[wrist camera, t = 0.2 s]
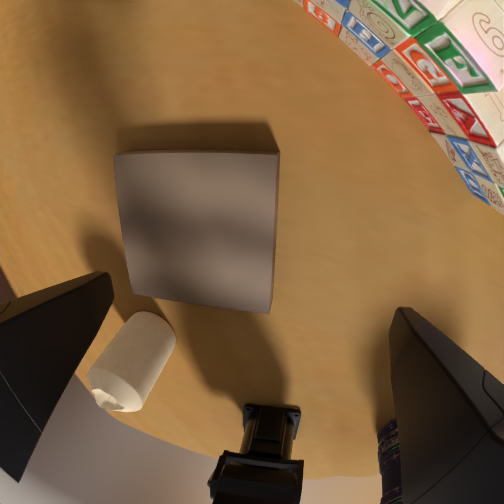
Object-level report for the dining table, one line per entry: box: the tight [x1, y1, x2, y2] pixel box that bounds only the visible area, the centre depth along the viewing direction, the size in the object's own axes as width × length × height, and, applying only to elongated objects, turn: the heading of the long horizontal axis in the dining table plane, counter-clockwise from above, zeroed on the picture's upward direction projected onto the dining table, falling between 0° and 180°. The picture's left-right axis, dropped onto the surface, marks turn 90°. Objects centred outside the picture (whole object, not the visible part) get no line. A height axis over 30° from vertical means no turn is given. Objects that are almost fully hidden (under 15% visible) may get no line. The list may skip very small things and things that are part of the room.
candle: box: [88, 311, 176, 412], centre depth 26 cm, size 6×6×10 cm
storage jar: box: [377, 418, 403, 504], centre depth 24 cm, size 10×10×15 cm
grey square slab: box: [114, 149, 280, 314], centre depth 23 cm, size 12×12×2 cm
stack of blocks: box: [293, 0, 504, 215], centre depth 10 cm, size 21×6×12 cm, turn 48°
